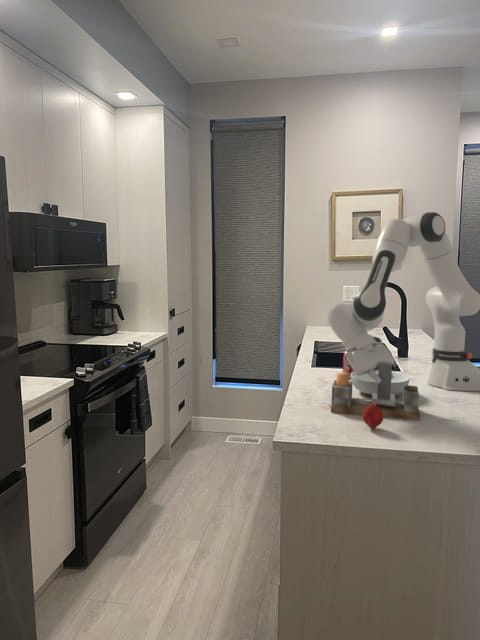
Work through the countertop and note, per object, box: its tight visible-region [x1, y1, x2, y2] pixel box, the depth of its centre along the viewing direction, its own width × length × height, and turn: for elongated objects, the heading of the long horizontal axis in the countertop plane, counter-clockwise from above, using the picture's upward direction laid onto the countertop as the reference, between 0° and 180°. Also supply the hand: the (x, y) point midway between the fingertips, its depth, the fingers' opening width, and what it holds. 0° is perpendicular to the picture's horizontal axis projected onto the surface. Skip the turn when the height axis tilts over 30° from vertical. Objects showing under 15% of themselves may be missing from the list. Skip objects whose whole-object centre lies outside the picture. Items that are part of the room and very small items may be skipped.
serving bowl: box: [350, 370, 411, 397], centre depth 183 cm, size 21×21×7 cm
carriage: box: [371, 362, 396, 405], centre depth 161 cm, size 7×8×12 cm
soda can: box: [342, 348, 354, 378], centre depth 207 cm, size 7×7×12 cm
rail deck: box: [330, 379, 421, 421], centre depth 163 cm, size 27×12×9 cm, turn 75°
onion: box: [362, 402, 384, 429], centre depth 146 cm, size 6×6×8 cm
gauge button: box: [336, 371, 350, 386], centre depth 165 cm, size 4×4×8 cm
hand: (386, 380), depth 161 cm, fingers closed on carriage, 5 cm apart
